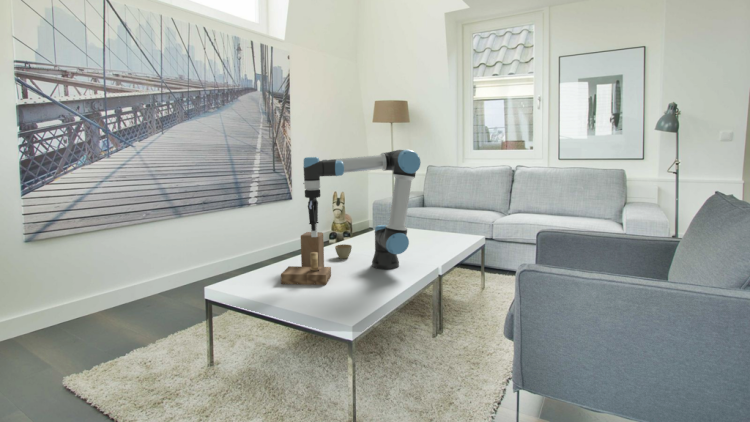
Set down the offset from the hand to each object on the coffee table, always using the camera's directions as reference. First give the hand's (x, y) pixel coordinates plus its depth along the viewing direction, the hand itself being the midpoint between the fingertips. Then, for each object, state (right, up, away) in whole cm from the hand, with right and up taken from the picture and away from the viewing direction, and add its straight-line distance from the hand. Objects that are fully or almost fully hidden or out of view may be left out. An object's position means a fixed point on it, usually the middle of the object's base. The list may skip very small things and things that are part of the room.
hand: (314, 236), depth 213 cm
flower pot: (+11, -16, +47) cm, 51 cm away
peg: (0, -22, +3) cm, 22 cm away
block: (-4, -19, +22) cm, 30 cm away
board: (-4, -22, +3) cm, 23 cm away
